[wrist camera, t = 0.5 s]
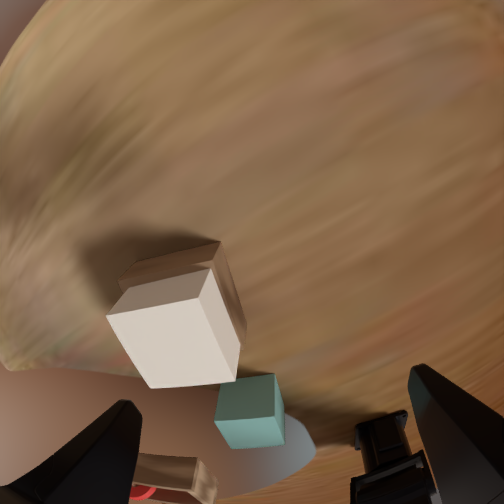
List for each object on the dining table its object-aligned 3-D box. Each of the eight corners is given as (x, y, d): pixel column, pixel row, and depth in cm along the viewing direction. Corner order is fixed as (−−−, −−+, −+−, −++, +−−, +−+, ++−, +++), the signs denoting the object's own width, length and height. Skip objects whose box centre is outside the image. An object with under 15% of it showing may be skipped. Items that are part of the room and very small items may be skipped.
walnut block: (247, 321, 23) (243, 350, 19) (168, 333, 24) (156, 359, 20) (221, 240, 20) (212, 260, 17) (136, 260, 21) (117, 280, 18)
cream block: (240, 344, 19) (235, 381, 16) (164, 355, 20) (150, 388, 17) (210, 268, 17) (198, 297, 14) (129, 287, 18) (105, 315, 15)
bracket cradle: (218, 480, 35) (214, 508, 30) (138, 473, 37) (130, 496, 32) (197, 457, 32) (191, 489, 27) (111, 448, 34) (100, 473, 29)
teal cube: (284, 404, 26) (285, 444, 22) (236, 410, 27) (231, 448, 22) (274, 373, 24) (274, 416, 20) (221, 379, 25) (213, 421, 20)
